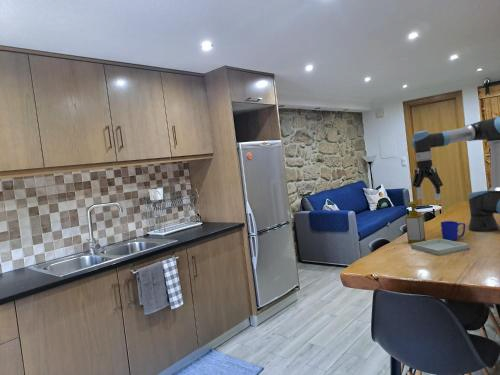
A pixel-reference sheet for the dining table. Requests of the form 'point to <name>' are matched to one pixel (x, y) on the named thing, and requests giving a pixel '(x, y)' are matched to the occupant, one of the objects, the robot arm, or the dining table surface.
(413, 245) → the tray
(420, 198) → the robot arm
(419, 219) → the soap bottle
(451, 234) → the mug
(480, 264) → the dining table surface
